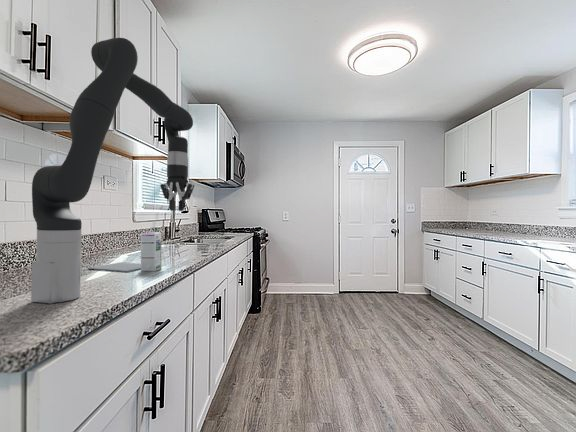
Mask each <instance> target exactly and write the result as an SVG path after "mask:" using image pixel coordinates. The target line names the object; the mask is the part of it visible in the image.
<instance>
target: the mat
mask: <svg viewBox="0 0 576 432" xmlns="http://www.w3.org/2000/svg"><path fill="white" fill-rule="evenodd" d="M88 269H94V270H93V271H101V270H105V271H104V272H114V271H116V272H117V273H132V272H137V271H141V263H131V262H116V263H109V264H103V265H96V266H93V267H87V270H88Z"/></svg>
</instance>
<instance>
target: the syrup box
mask: <svg viewBox="0 0 576 432" xmlns="http://www.w3.org/2000/svg"><path fill="white" fill-rule="evenodd" d="M140 264H141V270H140V271H141V272H156V271H158V270H161V269H162V232H159V231H153V232H152V231H151V232H143V233H142V232H141V233H140Z"/></svg>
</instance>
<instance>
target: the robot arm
mask: <svg viewBox="0 0 576 432" xmlns="http://www.w3.org/2000/svg"><path fill="white" fill-rule="evenodd" d="M90 55H91V58H92V61H93V62H94V65H95V66H96V67H97V68H98V69H99V70H100V71H101V72H100V74H98V76H96V77H95V79H94V80H92V81H91V83H89V85H87V86H86V87H85V88H84V89H83V91H82V92H81V93H80V94H79V96H78V98H76V101H75V103H74V106H73V107H72V110H71V112H70V115H69V120H68V121H69V130H70V134H71V135H70V136H71V145H70V149H69V151H68V153H67V155H66V157H65V160H64V161H63V163H62V164H61V165H60V164H59V165H46V166H43V167H41V168H39V169H37V170H36V172H35V173H34V175H33V177H32V182H31V202H32V216H33V218H34V220H35V222H36V246H35V247H36V249H35V250H36V252H35V253H36V256H35V258H36V259H35V261H32V263H31V282H30V283H31V287H30V288H31V290H30V291H31V292H30V295H31V296H30V299H31V300H30V301H31V302H32V303H33V302H35V303H43V304H55V303H60V302H68V301H72V300H76V299H78V298H80V297H81V277H82V276H81V275H82V273H81V269H82V267H81V265H82V261H81V260H82V219H81V218H80V217H78V216H76V215H75V214H74V213H73V212H72V211H71V208H70V207H71V206H70V203H77V202H79V201H82V200H83V199H84V198H85V197H86V196H87V195H88V193H89V190H90V189H91V185H92V181H93V178H94V173H95V170H96V169H95V168H96V167H97V166H96V165H97V163H98V162H97V161H98V158H99V154H100V152H101V149H102V146H103V143H104V142H105V138H106V136H107V134H108V131H109V129H110V126H111V124H112V121H113V118H114V116H115V113H116V110H117V108H118V105H119V103H120V100H121V99H122V96H123V94H124V91H125V89H127V90H128V91H129V92H131V93H132V94H133V95H134V96H136V97H138V98H139V99H140V100H142V102H143V103H145V105H147V106H148V107H149V108H150V109H151V110H153V112H155V114H157V115H158V116H159V117H161V118H164V119H163V125H164V130H165V134H166V137H167V141H168V142H167V143H168V144H167V157H166V162H167V163H166V177H167V180H166V182H165V183H161V184H160V185H159V187H160V189H161V191H162V195H163V197H164V199H166V200H168V206H169V207H168V209H169V210H170V212H171V211H176V197H177V195H178V198H179V200H178V211H179V212H180V211H181V212H182V211H184V210H185V207H186V206H185V203H186V202H185V201H187V200H190V198H191V196H192V193H193V191H194V189H195V184H193V183H190V182H189V180H188V178H189V154H188V152H189V151H188V149H189V148H188V147H189V146H188V145H189V144H188V139H187V138H186V137H184V136H180V134H179V132H186V131H190V130H191V129H192V128H193V125H194V119H193V117H192V115H191V114H190V112H189V111H188V110H187V109H185V108H184V107H182V106H180V105H179V104H178V103H176V102H174V101H172V99H171V98H170V97H169V96H168V94H166V93H165V92H164V91H163V90H162V89H161V88H159V87H158V86H157V85H155V84H153V83H152V82H149V81H148V80H146V79H145V78H144V79H143V78H142V77H141V76H138V74H135V70H136V68H137V66H138V62H139V61H138V59H139V58H138V57H139V56H138V51H137V49H136V47H135V45H134V44H133V42H131V41H130V40H129V39H127V38H124V37H113V38H109V39H105V40H100V41H98V42H95V43H93V45H92V47H91V51H90Z"/></svg>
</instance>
